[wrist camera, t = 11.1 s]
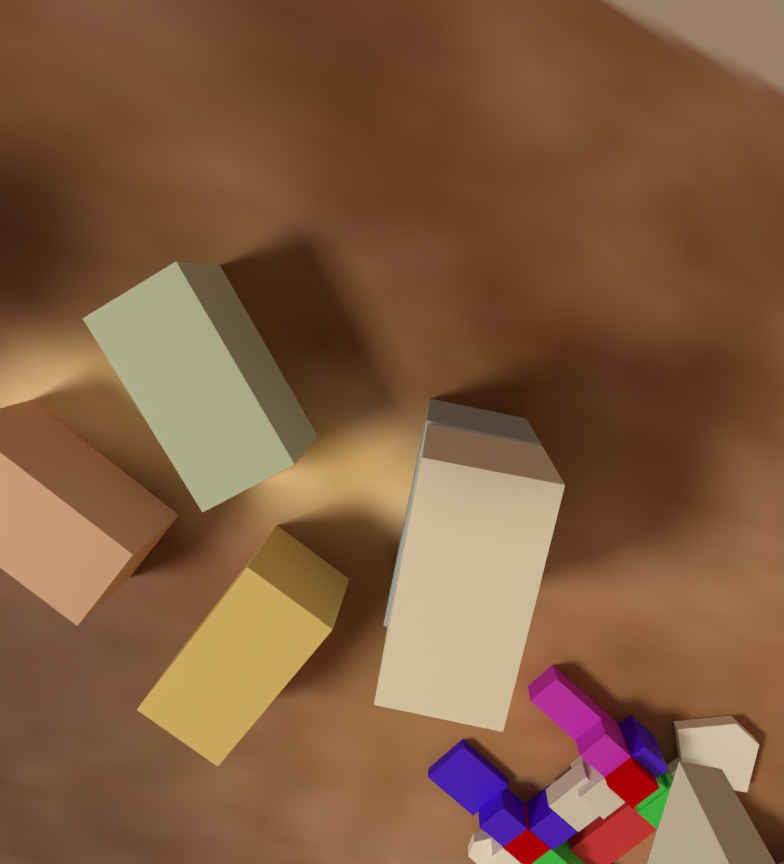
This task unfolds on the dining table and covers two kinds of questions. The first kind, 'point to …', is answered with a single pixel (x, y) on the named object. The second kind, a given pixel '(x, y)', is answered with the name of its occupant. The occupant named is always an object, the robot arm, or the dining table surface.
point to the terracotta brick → (69, 514)
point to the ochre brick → (247, 647)
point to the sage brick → (203, 380)
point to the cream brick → (468, 576)
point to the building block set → (587, 782)
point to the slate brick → (469, 422)
